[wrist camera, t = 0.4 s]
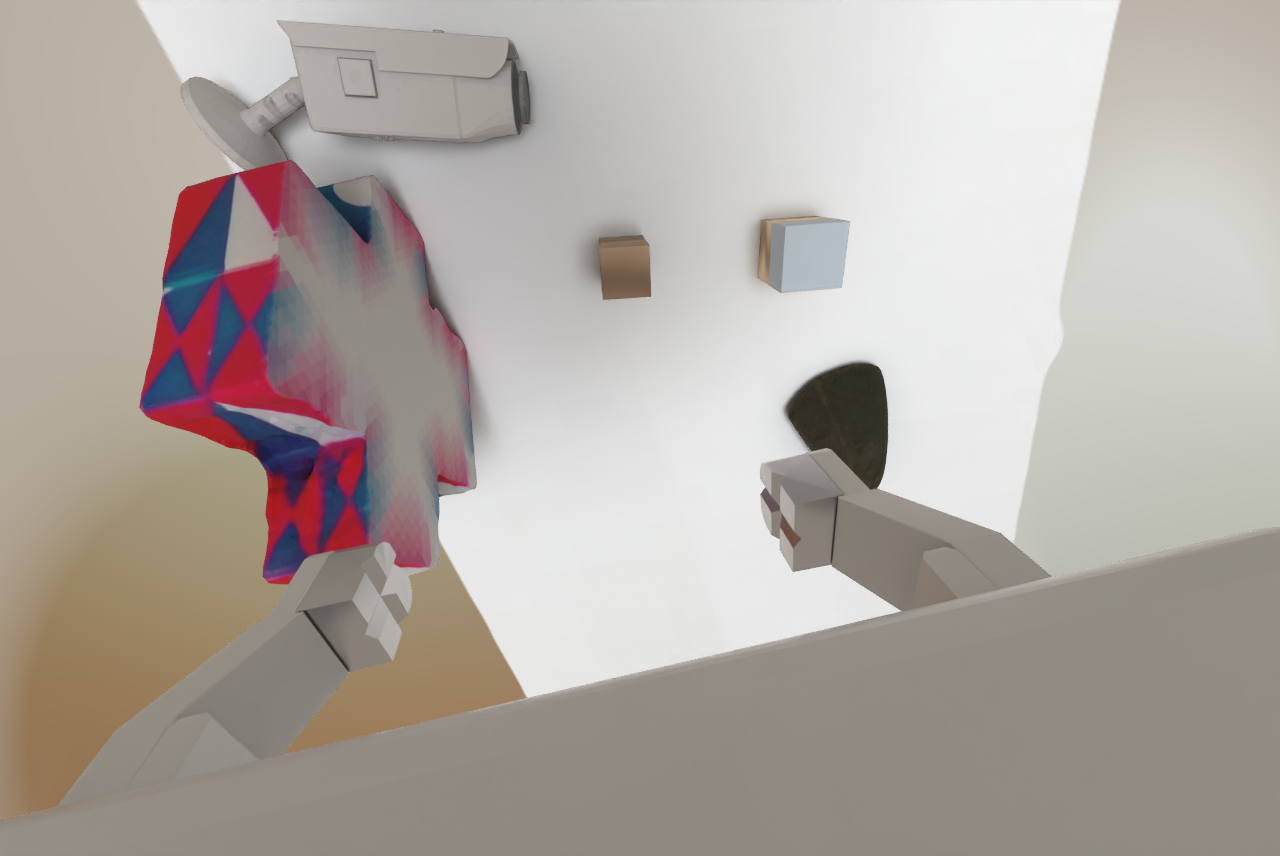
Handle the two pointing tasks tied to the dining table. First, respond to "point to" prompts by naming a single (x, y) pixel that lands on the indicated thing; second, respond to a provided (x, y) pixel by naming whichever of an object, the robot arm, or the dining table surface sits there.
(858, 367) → the stone tool
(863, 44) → the dining table surface
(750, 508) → the dining table surface
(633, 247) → the walnut pillar
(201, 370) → the sculpture
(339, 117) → the security camera
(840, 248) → the slate block
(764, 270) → the oak block
